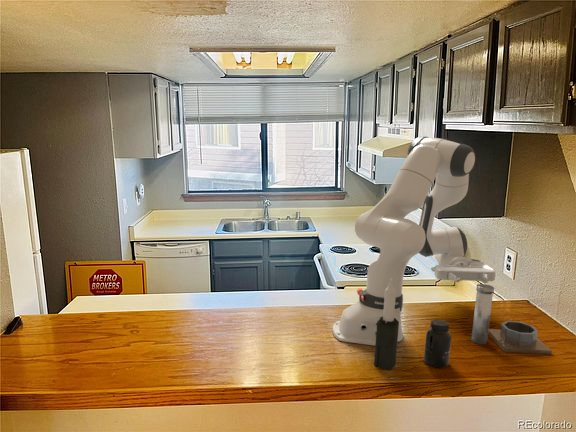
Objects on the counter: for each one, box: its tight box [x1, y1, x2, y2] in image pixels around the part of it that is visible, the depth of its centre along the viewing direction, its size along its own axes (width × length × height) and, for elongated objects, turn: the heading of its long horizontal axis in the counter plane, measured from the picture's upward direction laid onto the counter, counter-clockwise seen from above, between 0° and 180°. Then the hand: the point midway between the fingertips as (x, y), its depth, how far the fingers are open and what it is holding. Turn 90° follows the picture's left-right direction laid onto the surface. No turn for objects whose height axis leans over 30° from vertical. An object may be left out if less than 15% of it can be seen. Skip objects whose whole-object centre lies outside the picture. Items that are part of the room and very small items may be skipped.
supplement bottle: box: [423, 319, 452, 369], centre depth 128 cm, size 7×7×12 cm
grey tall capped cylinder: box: [470, 283, 495, 345], centre depth 142 cm, size 5×5×18 cm
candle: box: [373, 279, 399, 371], centre depth 124 cm, size 5×5×25 cm
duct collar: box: [488, 320, 553, 355], centre depth 143 cm, size 14×14×5 cm
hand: (471, 280), depth 153 cm, fingers open, 8 cm apart
